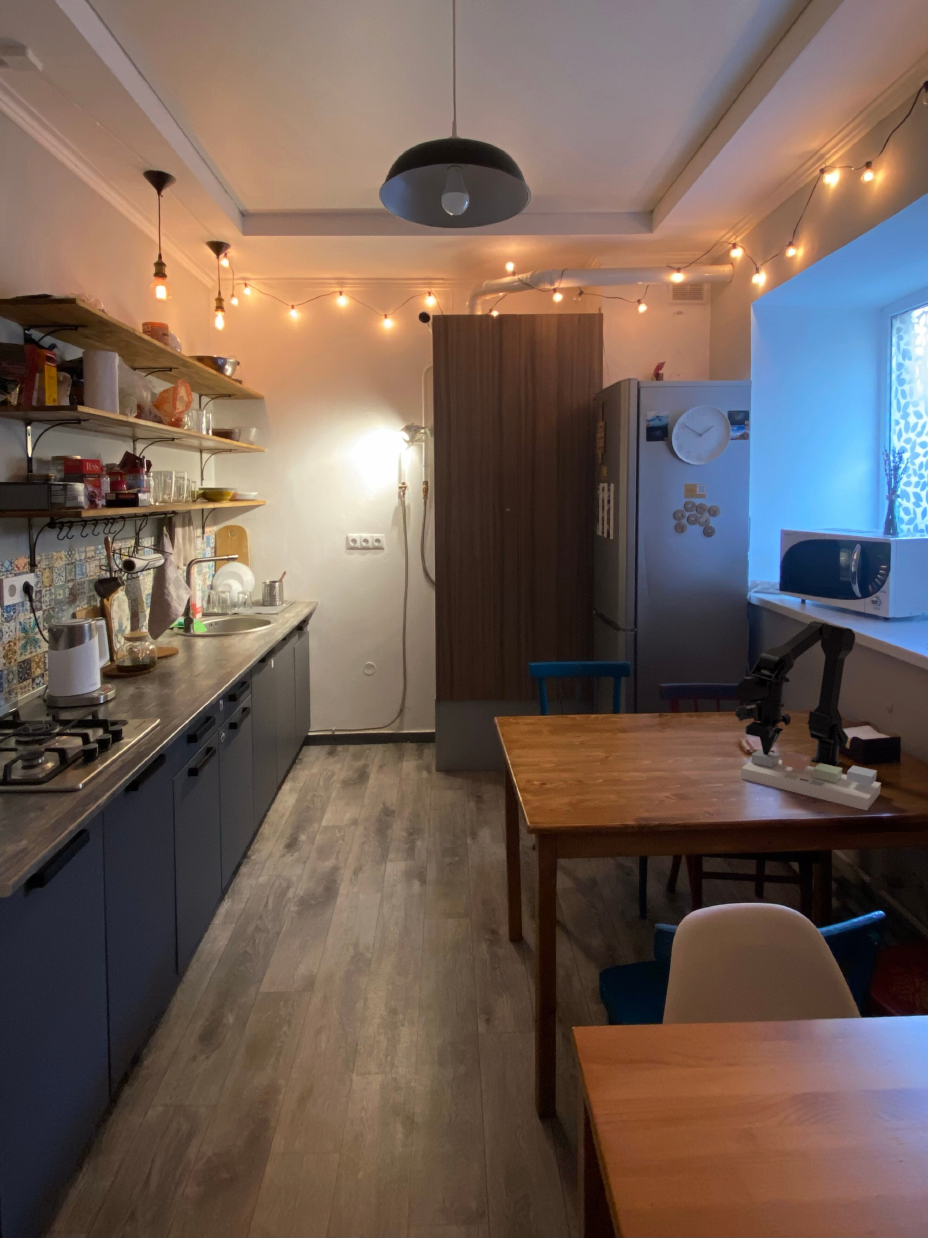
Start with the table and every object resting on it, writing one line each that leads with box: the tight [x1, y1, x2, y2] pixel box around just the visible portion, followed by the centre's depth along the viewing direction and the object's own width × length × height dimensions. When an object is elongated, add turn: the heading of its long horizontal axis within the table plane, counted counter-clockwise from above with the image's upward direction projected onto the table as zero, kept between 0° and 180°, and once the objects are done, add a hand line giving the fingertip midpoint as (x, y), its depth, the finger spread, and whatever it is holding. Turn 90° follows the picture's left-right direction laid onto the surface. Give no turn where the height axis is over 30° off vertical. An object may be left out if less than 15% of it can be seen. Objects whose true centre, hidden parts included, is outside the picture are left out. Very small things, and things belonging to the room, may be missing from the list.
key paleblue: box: [846, 765, 878, 786], centre depth 196 cm, size 6×6×2 cm
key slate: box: [750, 748, 780, 767], centre depth 212 cm, size 6×6×2 cm
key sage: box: [813, 763, 843, 783], centre depth 202 cm, size 6×6×2 cm
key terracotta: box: [781, 750, 812, 770], centre depth 206 cm, size 6×6×2 cm
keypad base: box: [740, 759, 882, 811], centre depth 204 cm, size 14×31×3 cm, turn 50°
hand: (765, 754), depth 212 cm, fingers closed, pressing on key slate
